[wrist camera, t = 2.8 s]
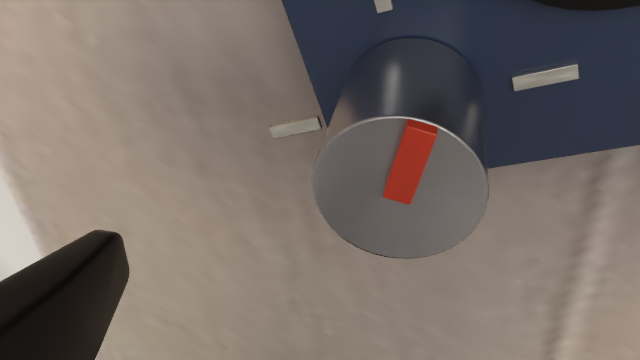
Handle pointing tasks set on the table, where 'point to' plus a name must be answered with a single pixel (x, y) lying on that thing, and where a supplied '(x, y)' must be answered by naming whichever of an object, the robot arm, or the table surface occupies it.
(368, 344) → the table surface
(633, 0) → the burner plate
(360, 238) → the stove knob
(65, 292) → the robot arm
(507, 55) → the hot plate
